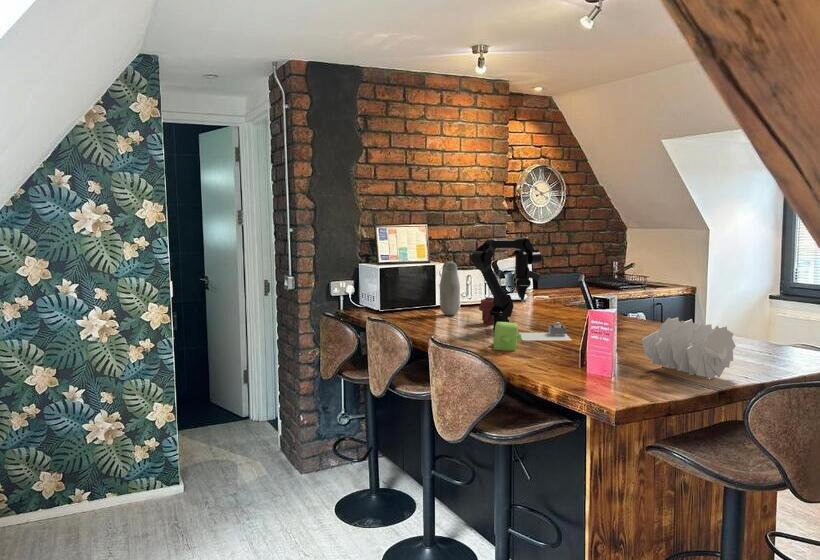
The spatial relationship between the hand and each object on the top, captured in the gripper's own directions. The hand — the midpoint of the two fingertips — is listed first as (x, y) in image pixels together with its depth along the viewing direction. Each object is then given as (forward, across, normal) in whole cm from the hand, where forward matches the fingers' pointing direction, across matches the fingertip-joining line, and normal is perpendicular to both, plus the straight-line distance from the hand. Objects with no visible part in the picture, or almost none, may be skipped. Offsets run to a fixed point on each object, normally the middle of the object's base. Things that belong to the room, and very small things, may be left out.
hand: (521, 298), depth 298 cm
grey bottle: (+13, +34, +33) cm, 49 cm away
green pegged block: (+13, -48, +10) cm, 51 cm away
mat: (+13, -26, -7) cm, 30 cm away
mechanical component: (+13, +9, +14) cm, 21 cm away
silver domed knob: (+12, -22, -13) cm, 28 cm away
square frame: (+12, -22, -13) cm, 28 cm away
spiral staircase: (+13, -86, -45) cm, 98 cm away
